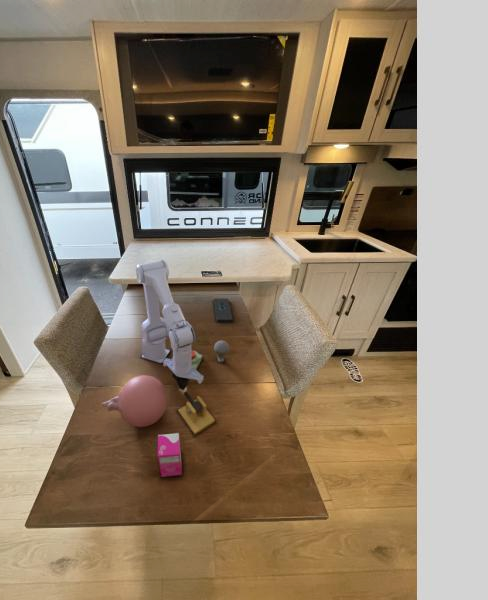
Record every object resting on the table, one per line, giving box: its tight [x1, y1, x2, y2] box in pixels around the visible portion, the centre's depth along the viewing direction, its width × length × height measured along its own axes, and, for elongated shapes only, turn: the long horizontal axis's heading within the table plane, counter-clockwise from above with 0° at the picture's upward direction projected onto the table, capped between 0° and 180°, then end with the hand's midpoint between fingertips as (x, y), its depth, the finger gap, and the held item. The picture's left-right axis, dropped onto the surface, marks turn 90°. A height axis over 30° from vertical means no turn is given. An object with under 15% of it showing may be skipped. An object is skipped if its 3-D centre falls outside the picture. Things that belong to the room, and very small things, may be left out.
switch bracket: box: [177, 395, 216, 436], centre depth 86 cm, size 10×8×7 cm
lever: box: [178, 386, 202, 414], centre depth 88 cm, size 11×3×3 cm, turn 34°
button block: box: [170, 349, 203, 370], centre depth 108 cm, size 11×8×4 cm
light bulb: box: [213, 340, 230, 363], centre depth 107 cm, size 6×6×10 cm
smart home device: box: [213, 298, 234, 323], centre depth 140 cm, size 8×2×20 cm
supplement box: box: [157, 432, 183, 478], centre depth 72 cm, size 6×6×12 cm
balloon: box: [101, 374, 168, 428], centre depth 84 cm, size 15×20×15 cm
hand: (183, 387), depth 90 cm, fingers closed, pressing on lever
